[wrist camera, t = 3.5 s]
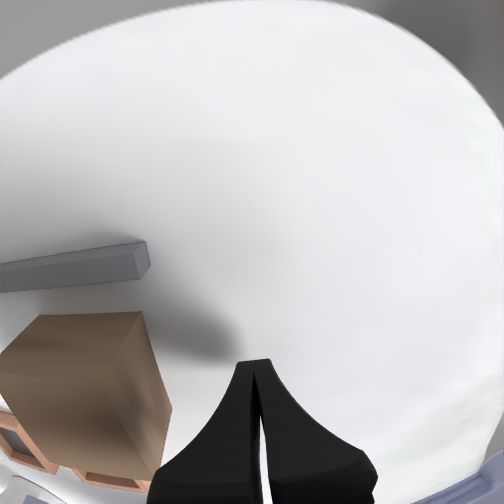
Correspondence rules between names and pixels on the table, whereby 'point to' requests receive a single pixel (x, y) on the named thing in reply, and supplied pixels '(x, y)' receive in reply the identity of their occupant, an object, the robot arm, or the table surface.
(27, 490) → the cup
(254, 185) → the table surface
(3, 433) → the trap pits
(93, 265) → the hook tool
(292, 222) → the table surface
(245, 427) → the robot arm
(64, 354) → the walnut block
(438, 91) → the table surface
